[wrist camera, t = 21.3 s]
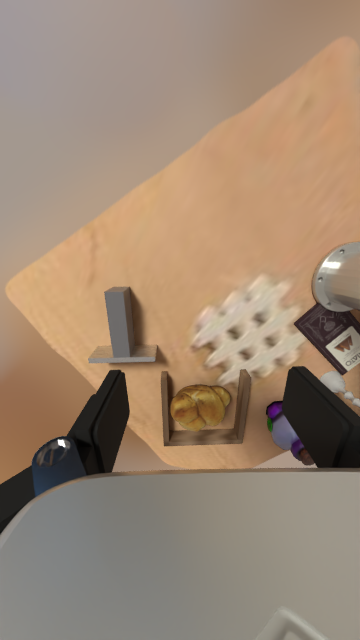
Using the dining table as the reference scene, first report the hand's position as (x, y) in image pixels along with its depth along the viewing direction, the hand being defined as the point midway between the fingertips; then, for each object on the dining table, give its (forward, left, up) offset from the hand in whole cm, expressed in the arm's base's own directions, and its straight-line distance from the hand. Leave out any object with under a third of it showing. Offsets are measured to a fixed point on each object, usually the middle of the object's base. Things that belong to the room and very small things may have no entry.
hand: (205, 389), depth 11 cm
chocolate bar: (-32, +9, -28) cm, 43 cm away
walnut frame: (-4, +25, -27) cm, 38 cm away
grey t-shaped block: (+11, +5, -27) cm, 30 cm away
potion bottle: (-22, +28, -27) cm, 45 cm away
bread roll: (-4, +24, -28) cm, 37 cm away
